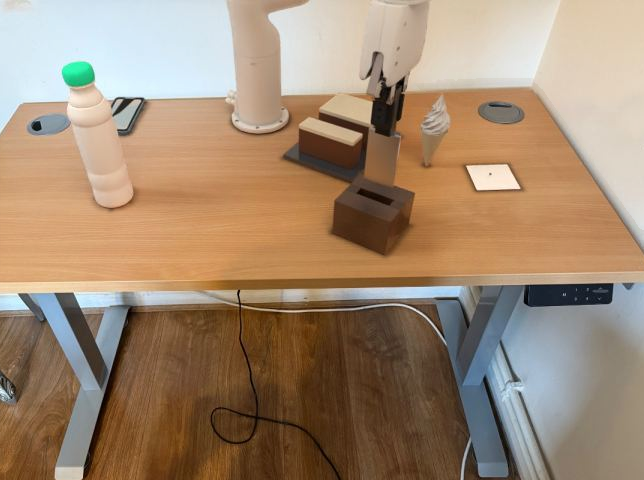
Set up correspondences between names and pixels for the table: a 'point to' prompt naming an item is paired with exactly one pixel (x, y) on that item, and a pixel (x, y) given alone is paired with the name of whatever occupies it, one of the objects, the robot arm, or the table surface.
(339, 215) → the knife block
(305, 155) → the cake board
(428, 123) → the ice cream cone
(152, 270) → the table surface
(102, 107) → the water bottle
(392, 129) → the knife
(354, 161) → the cake slice
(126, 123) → the smartphone
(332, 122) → the cake
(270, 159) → the table surface
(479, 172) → the coaster
